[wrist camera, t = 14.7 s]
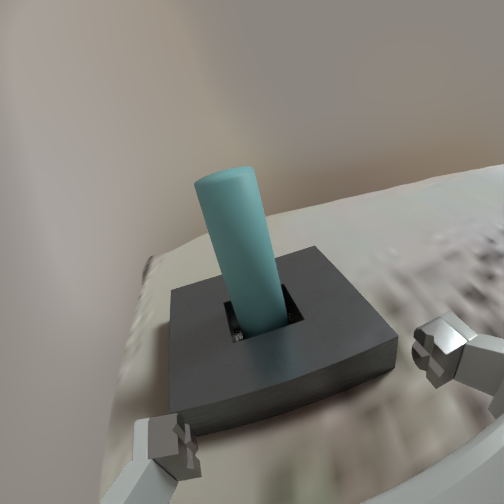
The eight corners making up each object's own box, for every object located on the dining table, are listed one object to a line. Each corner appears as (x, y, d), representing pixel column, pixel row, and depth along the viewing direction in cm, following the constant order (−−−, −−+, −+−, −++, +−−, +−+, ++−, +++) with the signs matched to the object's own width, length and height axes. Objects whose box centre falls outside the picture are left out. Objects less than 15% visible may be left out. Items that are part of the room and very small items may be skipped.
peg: (284, 319, 25) (247, 163, 20) (298, 347, 22) (259, 172, 16) (242, 333, 25) (193, 179, 19) (251, 362, 22) (195, 191, 16)
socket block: (318, 272, 30) (314, 245, 29) (394, 367, 18) (398, 335, 17) (182, 315, 29) (171, 290, 28) (188, 437, 17) (169, 412, 15)
